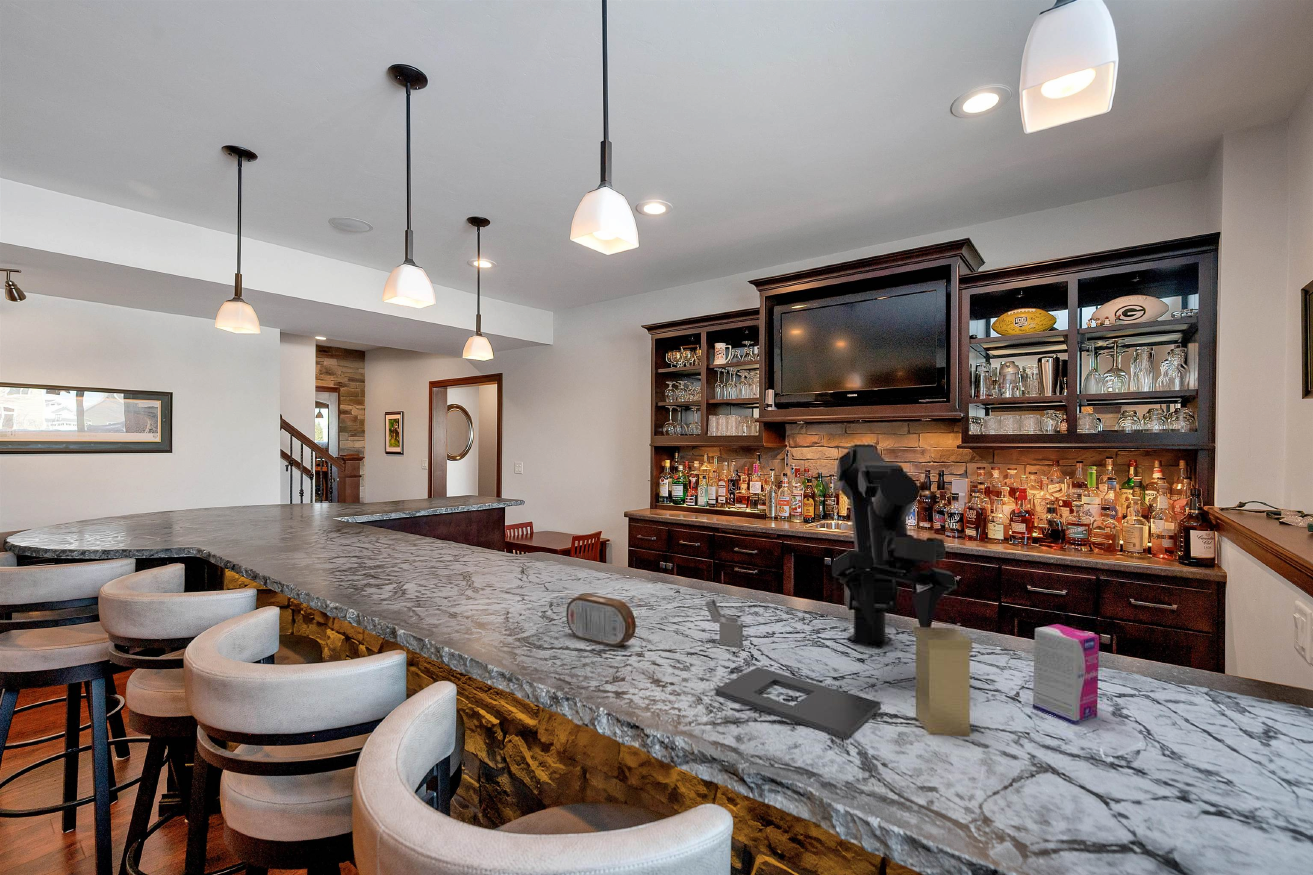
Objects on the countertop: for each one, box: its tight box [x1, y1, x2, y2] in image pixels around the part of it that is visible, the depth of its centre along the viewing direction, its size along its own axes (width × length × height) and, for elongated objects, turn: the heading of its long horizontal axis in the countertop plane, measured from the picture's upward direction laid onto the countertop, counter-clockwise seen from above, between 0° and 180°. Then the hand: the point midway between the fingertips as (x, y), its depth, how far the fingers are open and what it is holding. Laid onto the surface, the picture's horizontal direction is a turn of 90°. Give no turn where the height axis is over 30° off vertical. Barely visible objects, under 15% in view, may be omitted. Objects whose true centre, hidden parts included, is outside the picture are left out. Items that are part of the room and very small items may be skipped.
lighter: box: [704, 598, 744, 649], centre depth 109 cm, size 7×2×8 cm, turn 61°
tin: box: [565, 592, 637, 648], centre depth 110 cm, size 15×3×8 cm, turn 58°
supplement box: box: [1031, 623, 1100, 725], centre depth 82 cm, size 6×6×12 cm
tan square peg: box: [913, 626, 973, 737], centre depth 77 cm, size 5×5×12 cm
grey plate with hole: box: [715, 666, 882, 740], centre depth 84 cm, size 12×20×1 cm, turn 50°
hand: (899, 628), depth 88 cm, fingers open, 9 cm apart
